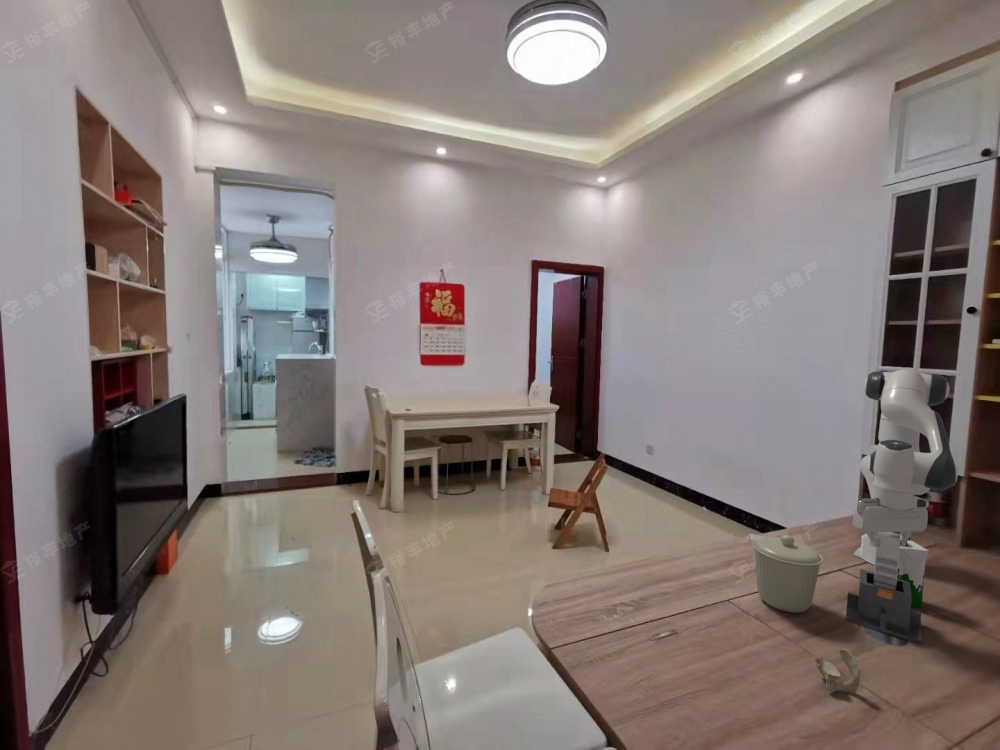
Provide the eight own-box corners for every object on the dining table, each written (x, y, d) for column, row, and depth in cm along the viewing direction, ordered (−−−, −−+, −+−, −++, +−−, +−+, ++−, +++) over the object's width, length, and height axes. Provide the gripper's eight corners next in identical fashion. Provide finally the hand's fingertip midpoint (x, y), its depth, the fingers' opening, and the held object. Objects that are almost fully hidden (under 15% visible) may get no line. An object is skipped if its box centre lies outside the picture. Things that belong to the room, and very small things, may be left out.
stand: (847, 597, 141) (850, 563, 141) (917, 618, 131) (920, 581, 131) (845, 620, 129) (848, 582, 128) (921, 644, 119) (925, 604, 118)
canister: (812, 596, 141) (817, 530, 140) (826, 628, 125) (831, 553, 124) (747, 582, 149) (751, 519, 148) (751, 610, 133) (756, 540, 131)
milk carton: (876, 591, 146) (881, 530, 145) (908, 594, 144) (913, 533, 143) (894, 605, 138) (899, 541, 136) (928, 610, 136) (934, 545, 135)
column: (871, 608, 133) (877, 529, 132) (892, 615, 130) (899, 533, 129) (871, 617, 129) (877, 535, 128) (893, 624, 126) (900, 540, 125)
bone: (802, 674, 104) (818, 633, 106) (811, 679, 107) (827, 639, 109) (845, 702, 97) (862, 657, 99) (854, 706, 100) (870, 663, 102)
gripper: (868, 502, 124) (864, 551, 125) (934, 501, 126) (930, 550, 127) (848, 494, 130) (844, 541, 131) (911, 494, 132) (907, 540, 133)
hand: (887, 545), depth 129 cm, fingers closed on column, 7 cm apart
